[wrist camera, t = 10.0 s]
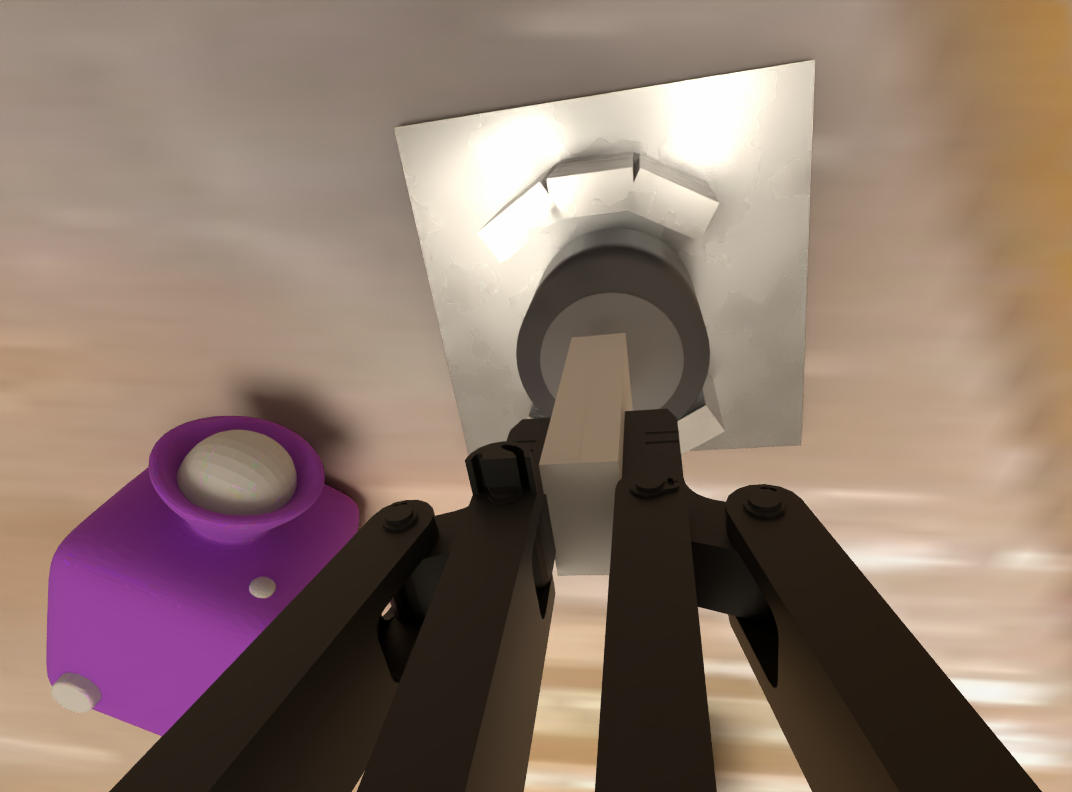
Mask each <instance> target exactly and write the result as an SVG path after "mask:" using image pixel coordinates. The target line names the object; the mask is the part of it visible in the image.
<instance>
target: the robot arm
mask: <svg viewBox="0 0 1072 792" xmlns="http://www.w3.org/2000/svg"><path fill="white" fill-rule="evenodd" d="M465 463H466V467H467V471H468V476H469V480H470V484H471V489H472V493H473V496H472V499H471V501H470V504H469V506H468V507H466V508H463V509H460V510H457V511H454V512H449V513H445V514H441V515H437V516H435V515H434V511H433V508H432V507H431V506H430V505H429V504H428V503H426V502H423V501H420V500H405V501H401V502H396V503H393V504H391V505H389V506H387V507H385V508H382V509H381V510H380V511H379V512H377V513H376V514H375V515H373V516H372V517H371V518H370V520H369V521H368V522H367V523H366V524H365V525H364V526H363V527H362V528H361V529H360V530H359V531H358V532H357V533H356V534H355V535H354V536H353V537H352V538H351V539H350V540H349V541H348V543H347V544H346V545H345V546H344V547H343V548H342V549H341V550H340V551H339V552H338V553H337V554H336V555H335V556H334V557H333V558H332V559H331V560H330V561H329V562H328V563H327V564H326V566H325V567H324V568H323V569H322V570H321V571H320V572H319V573H318V574H317V575H316V576H315V577H314V578H313V579H312V580H311V581H310V582H309V583H308V584H307V585H306V586H305V587H304V589H303V590H302V591H301V592H300V593H299V594H298V595H297V596H296V597H295V598H294V599H293V600H292V601H291V602H290V603H289V604H288V605H287V606H286V607H285V608H284V609H283V611H282V612H281V613H280V614H279V615H278V616H277V617H276V618H275V619H274V620H273V621H272V622H271V623H270V624H269V625H268V626H267V627H266V628H265V629H264V630H263V631H262V632H261V634H260V635H259V636H258V637H257V638H256V639H255V640H254V641H253V642H252V643H251V644H250V645H249V646H248V647H247V648H246V649H245V650H244V651H243V652H242V653H241V654H240V655H239V657H238V658H237V659H236V660H235V661H234V662H233V663H232V664H231V665H230V666H229V667H228V668H227V669H226V670H225V671H224V672H223V673H222V674H221V675H220V676H219V677H218V678H217V680H216V681H215V682H214V683H213V684H212V685H211V686H210V687H209V688H208V689H207V690H206V691H205V692H204V693H203V694H202V695H201V696H200V697H199V698H198V699H197V700H196V701H195V703H194V704H193V705H192V706H191V707H190V708H189V709H188V710H187V711H186V712H185V713H184V714H183V715H182V716H181V717H180V718H179V719H178V720H177V721H176V722H175V723H174V725H173V726H172V727H171V728H170V729H169V730H168V731H167V732H166V733H165V734H164V735H163V736H162V737H161V738H160V739H159V740H158V741H157V742H156V743H155V744H154V745H153V746H152V748H151V749H150V750H149V751H148V752H147V753H146V754H145V755H144V756H143V757H142V758H141V759H140V760H139V761H138V762H137V763H136V764H135V765H134V766H133V767H132V768H131V769H130V771H129V772H128V773H127V774H126V775H125V776H124V777H123V778H122V779H121V780H120V781H119V782H118V783H117V784H116V785H115V786H114V787H113V788H112V789H111V790H110V791H109V792H352V790H353V789H354V787H355V785H356V784H357V782H358V781H359V779H360V777H361V776H362V774H363V773H364V774H363V777H362V780H361V782H360V785H359V787H358V790H357V792H524V786H525V780H526V773H527V767H528V761H529V755H530V748H531V742H532V736H533V730H534V723H535V717H536V711H537V705H538V698H539V692H540V686H541V680H542V673H543V667H544V661H545V655H546V648H547V642H548V636H549V630H550V623H551V617H552V611H553V605H554V598H555V587H554V581H553V575H552V571H553V565H554V560H555V561H556V567H557V573H558V576H567V575H609V589H608V604H607V619H606V634H605V649H604V664H603V679H602V694H601V709H600V724H599V739H598V754H597V769H596V784H595V792H717V791H716V782H715V772H714V762H713V752H712V742H711V733H710V723H709V713H708V703H707V693H706V684H705V674H704V664H703V654H702V644H701V635H700V625H699V615H698V607H701V608H705V609H709V610H713V611H717V612H721V613H725V614H728V616H729V621H730V625H731V627H732V629H733V631H734V633H735V635H736V637H737V639H738V641H739V643H740V645H741V647H742V649H743V651H744V653H745V655H746V657H747V659H748V661H749V663H750V665H751V668H752V670H753V672H754V674H755V676H756V678H757V680H758V682H759V684H760V686H761V688H762V690H763V692H764V694H765V696H766V698H767V700H768V702H769V704H770V706H771V708H772V710H773V712H774V714H775V717H776V719H777V721H778V723H779V725H780V727H781V729H782V731H783V733H784V735H785V737H786V739H787V741H788V743H789V745H790V747H791V749H792V751H793V753H794V755H795V757H796V759H797V761H798V763H799V766H800V768H801V770H802V772H803V774H804V776H805V778H806V780H807V782H808V784H809V786H810V788H811V790H812V792H1042V791H1041V790H1040V789H1039V788H1038V786H1037V785H1036V784H1035V783H1034V781H1033V780H1032V779H1031V778H1030V777H1029V775H1028V774H1027V773H1026V772H1025V770H1024V769H1023V768H1022V767H1021V766H1020V764H1019V763H1018V762H1017V761H1016V760H1015V758H1014V757H1013V756H1012V755H1011V753H1010V752H1009V751H1008V750H1007V749H1006V747H1005V746H1004V745H1003V744H1002V742H1001V741H1000V740H999V739H998V738H997V736H996V735H995V734H994V733H993V732H992V730H991V729H990V728H989V727H988V725H987V724H986V723H985V722H984V721H983V719H982V718H981V717H980V716H979V714H978V713H977V712H976V711H975V710H974V708H973V707H972V706H971V705H970V704H969V702H968V701H967V700H966V699H965V697H964V696H963V695H962V694H961V693H960V691H959V690H958V689H957V688H956V686H955V685H954V684H953V683H952V682H951V680H950V679H949V678H948V677H947V676H946V674H945V673H944V672H943V671H942V669H941V668H940V667H939V666H938V665H937V663H936V662H935V661H934V660H933V658H932V657H931V656H930V655H929V654H928V652H927V651H926V650H925V649H924V648H923V646H922V645H921V644H920V643H919V641H918V640H917V639H916V638H915V637H914V635H913V634H912V633H911V632H910V630H909V629H908V628H907V627H906V626H905V624H904V623H903V622H902V621H901V620H900V618H899V617H898V616H897V615H896V613H895V612H894V611H893V610H892V609H891V607H890V606H889V605H888V604H887V602H886V601H885V600H884V599H883V598H882V596H881V595H880V594H879V593H878V592H877V590H876V589H875V588H874V587H873V585H872V584H871V583H870V582H869V581H868V579H867V578H866V577H865V576H864V574H863V573H862V572H861V571H860V570H859V568H858V567H857V566H856V565H855V564H854V562H853V561H852V560H851V559H850V557H849V556H848V555H847V554H846V553H845V551H844V550H843V549H842V548H841V546H840V545H839V544H838V543H837V542H836V540H835V539H834V538H833V537H832V536H831V534H830V533H829V532H828V531H827V529H826V528H825V527H824V526H823V525H822V523H821V522H820V521H819V520H818V518H817V517H816V516H815V515H814V514H813V512H812V511H811V510H810V509H809V508H808V506H807V505H806V504H805V503H804V501H803V500H802V499H801V498H800V497H798V496H797V495H796V494H795V493H793V492H792V491H789V490H787V489H784V488H782V487H779V486H773V485H766V484H760V485H749V486H745V487H742V488H739V489H737V490H735V491H734V492H733V493H731V494H730V495H729V496H728V498H727V501H726V502H724V501H718V500H713V499H709V498H705V497H703V496H701V495H698V494H696V493H695V492H693V491H692V490H691V489H689V487H688V486H687V485H686V484H685V481H684V478H683V469H682V460H681V450H680V441H679V431H678V421H677V418H676V417H675V416H674V415H673V414H672V413H671V412H670V411H669V410H668V409H652V410H636V411H633V406H632V396H631V385H630V375H629V364H628V353H627V343H626V333H618V334H607V335H595V336H584V337H573V338H572V339H571V343H570V347H569V351H568V354H567V358H566V362H565V366H564V370H563V374H562V377H561V381H560V385H559V389H558V393H557V397H556V401H555V404H554V408H553V412H552V416H551V417H549V418H533V419H522V420H521V421H520V422H519V423H517V424H516V425H515V426H514V427H513V428H512V429H511V430H510V432H509V435H508V438H507V440H506V441H502V442H496V443H491V444H488V445H485V446H482V447H480V448H478V449H476V450H475V451H473V452H472V453H470V455H469V456H468V457H467V458H466V460H465ZM389 602H390V603H391V606H392V607H391V608H390V609H389V610H388V612H387V613H386V614H385V615H384V616H382V615H381V614H382V612H383V610H384V609H385V607H386V606H387V605H388V603H389ZM364 771H365V772H364Z"/></svg>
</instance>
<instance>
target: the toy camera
mask: <svg viewBox="0 0 1072 792" xmlns="http://www.w3.org/2000/svg"><path fill="white" fill-rule="evenodd" d="M324 480H325V475H324V468H323V465H322V462H321V460H320V458H319V456H318V454H317V452H316V451H315V450H314V448H313V447H312V446H311V445H310V444H309V443H308V442H307V441H306V440H305V439H303V438H302V437H301V436H300V435H298V434H297V433H295V432H293V431H292V430H290V429H288V428H286V427H283V426H281V425H279V424H276V423H273V422H270V421H267V420H262V419H258V418H252V417H243V416H215V417H207V418H202V419H197V420H193V421H190V422H187V423H184V424H182V425H180V426H177V427H175V428H174V429H172V430H170V431H168V432H167V433H165V434H164V435H163V436H162V437H161V438H160V439H159V440H158V441H157V443H156V444H155V446H154V447H153V449H152V452H151V454H150V458H149V466H148V468H147V469H146V470H144V471H143V472H142V473H141V474H139V475H138V476H137V477H136V478H134V479H133V480H132V481H130V482H129V483H128V484H127V485H126V486H124V487H123V488H122V489H121V490H120V491H118V492H117V493H116V494H115V495H114V496H112V497H111V498H110V499H109V500H108V501H106V502H105V503H104V504H103V505H102V506H100V507H99V508H98V509H97V510H96V511H94V512H93V513H92V514H91V515H90V516H88V517H87V518H86V519H85V520H84V521H83V522H82V523H80V524H79V525H78V526H77V527H76V528H75V529H74V530H73V531H72V532H71V533H70V534H69V535H68V536H67V537H66V538H65V539H64V540H63V541H62V543H61V544H60V545H59V547H58V548H57V550H56V552H55V554H54V556H53V559H52V562H51V567H50V574H49V586H48V614H47V674H48V678H49V681H50V683H51V685H52V687H51V694H52V696H53V698H54V699H55V700H56V702H57V703H59V704H60V705H61V706H63V707H64V708H66V709H68V710H70V711H73V712H77V713H85V712H88V711H90V710H92V709H94V710H96V711H99V712H101V713H104V714H106V715H109V716H112V717H114V718H117V719H119V720H122V721H124V722H127V723H129V724H132V725H135V726H137V727H140V728H142V729H145V730H147V731H150V732H153V733H155V734H158V735H160V736H163V735H164V734H165V733H166V732H167V731H168V730H169V729H170V728H171V727H172V726H173V725H174V723H175V722H176V721H177V720H178V719H179V718H180V717H181V716H182V715H183V714H184V713H185V712H186V711H187V710H188V709H189V708H190V707H191V706H192V705H193V704H194V703H195V701H196V700H197V699H198V698H199V697H200V696H201V695H202V694H203V693H204V692H205V691H206V690H207V689H208V688H209V687H210V686H211V685H212V684H213V683H214V682H215V681H216V680H217V678H218V677H219V676H220V675H221V674H222V673H223V672H224V671H225V670H226V669H227V668H228V667H229V666H230V665H231V664H232V663H233V662H234V661H235V660H236V659H237V658H238V657H239V655H240V654H241V653H242V652H243V651H244V650H245V649H246V648H247V647H248V646H249V645H250V644H251V643H252V642H253V641H254V640H255V639H256V638H257V637H258V636H259V635H260V634H261V632H262V631H263V630H264V629H265V628H266V627H267V626H268V625H269V624H270V623H271V622H272V621H273V620H274V619H275V618H276V617H277V616H278V615H279V614H280V613H281V612H282V611H283V609H284V608H285V607H286V606H287V605H288V604H289V603H290V602H291V601H292V600H293V599H294V598H295V597H296V596H297V595H298V594H299V593H300V592H301V591H302V590H303V589H304V587H305V586H306V585H307V584H308V583H309V582H310V581H311V580H312V579H313V578H314V577H315V576H316V575H317V574H318V573H319V572H320V571H321V570H322V569H323V568H324V567H325V566H326V564H327V563H328V562H329V561H330V560H331V559H332V558H333V557H334V556H335V555H336V554H337V553H338V552H339V551H340V550H341V549H342V548H343V547H344V546H345V545H346V544H347V543H348V541H349V540H350V539H351V538H352V537H353V536H354V535H355V534H356V533H357V530H358V526H359V509H358V506H357V504H356V503H355V502H354V501H353V500H352V499H351V498H350V497H348V496H347V495H345V494H344V493H342V492H340V491H338V490H336V489H334V488H332V487H330V486H328V485H326V484H324Z"/></svg>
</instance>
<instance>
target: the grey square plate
mask: <svg viewBox="0 0 1072 792" xmlns="http://www.w3.org/2000/svg"><path fill="white" fill-rule="evenodd" d="M814 77H815V60H807V61H801V62H795V63H789V64H782V65H776V66H770V67H764V68H758V69H751V70H745V71H739V72H733V73H727V74H720V75H714V76H708V77H702V78H696V79H690V80H683V81H677V82H671V83H665V84H659V85H652V86H646V87H640V88H634V89H628V90H621V91H615V92H609V93H603V94H597V95H590V96H584V97H578V98H572V99H566V100H559V101H553V102H547V103H541V104H535V105H528V106H522V107H516V108H510V109H504V110H498V111H491V112H485V113H479V114H473V115H467V116H460V117H454V118H448V119H442V120H436V121H429V122H423V123H417V124H411V125H405V126H399V127H395V128H394V131H395V136H396V140H397V144H398V149H399V153H400V157H401V162H402V166H403V171H404V175H405V179H406V184H407V188H408V192H409V197H410V201H411V205H412V210H413V214H414V219H415V223H416V227H417V232H418V236H419V240H420V245H421V249H422V253H423V258H424V262H425V266H426V271H427V275H428V280H429V284H430V288H431V293H432V297H433V301H434V306H435V310H436V314H437V319H438V323H439V328H440V332H441V336H442V341H443V345H444V349H445V354H446V358H447V362H448V367H449V371H450V375H451V380H452V384H453V389H454V393H455V397H456V402H457V406H458V410H459V415H460V419H461V423H462V428H463V432H464V437H465V441H466V445H467V450H468V454H469V455H470V453H472V452H473V451H475V450H476V449H478V448H480V447H482V446H485V445H488V444H491V443H496V442H502V441H506V440H507V438H508V435H509V432H510V430H511V429H512V428H513V427H514V426H515V425H516V424H517V423H519V422H520V421H521V420H522V419H533V418H546V417H545V416H544V415H543V414H542V413H541V412H540V411H539V410H538V409H537V408H536V407H535V405H534V404H533V402H532V401H531V400H530V398H529V397H528V395H527V393H526V391H525V389H524V387H523V385H522V382H521V379H520V376H519V372H518V368H517V359H516V347H517V339H518V334H519V330H520V327H521V325H522V322H523V319H524V317H525V315H526V312H527V310H528V308H529V305H530V303H531V301H532V298H533V296H534V294H535V292H536V289H537V287H538V285H539V282H540V280H541V278H542V275H543V273H544V272H545V270H546V268H547V266H548V264H549V263H550V262H551V260H552V259H553V258H554V256H555V255H556V254H557V253H558V252H559V251H560V250H561V249H562V248H564V247H565V246H566V245H567V244H568V243H570V242H572V241H573V240H575V239H576V238H578V237H580V236H583V235H585V234H587V233H590V232H593V231H597V230H602V229H608V228H624V229H632V230H636V231H641V232H643V233H646V234H649V235H651V236H653V237H655V238H657V239H658V240H660V241H662V242H663V243H664V244H666V245H667V246H668V247H670V248H671V249H672V250H673V251H674V252H675V253H676V254H677V256H678V257H679V258H680V259H681V261H682V262H683V263H684V265H685V267H686V269H687V270H688V273H689V275H690V278H691V280H692V283H693V286H694V290H695V293H696V296H697V300H698V303H699V306H700V310H701V313H702V316H703V320H704V323H705V326H706V330H707V334H708V338H709V345H710V364H709V369H708V374H707V377H706V380H705V383H704V386H703V388H702V390H701V392H700V394H699V396H698V398H697V399H696V400H695V402H694V403H693V405H692V406H691V407H690V408H689V409H688V410H687V412H686V413H685V414H684V415H683V416H682V417H680V418H679V419H678V420H677V421H678V431H679V441H680V450H681V455H682V454H684V453H686V452H688V451H698V450H718V449H737V448H757V447H776V446H796V445H801V433H802V406H803V379H804V351H805V324H806V296H807V269H808V241H809V214H810V187H811V159H812V132H813V104H814Z"/></svg>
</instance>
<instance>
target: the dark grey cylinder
mask: <svg viewBox="0 0 1072 792" xmlns="http://www.w3.org/2000/svg"><path fill="white" fill-rule="evenodd" d="M618 333H626V343H627V353H628V364H629V375H630V385H631V396H632V406H633V411H636V410H652V409H668V410H669V411H670V412H671V413H672V414H673V415H674V416H675V417H676V418H677V420H678V419H679V418H680V417H682V416H683V415H684V414H685V413H686V412H687V410H688V409H689V408H690V407H691V406H692V405H693V403H694V402H695V400H696V399H697V398H698V396H699V394H700V392H701V390H702V388H703V386H704V383H705V380H706V377H707V374H708V369H709V364H710V345H709V338H708V334H707V330H706V326H705V323H704V320H703V316H702V313H701V310H700V306H699V303H698V300H697V296H696V293H695V290H694V286H693V283H692V280H691V278H690V275H689V273H688V270H687V269H686V267H685V265H684V263H683V262H682V261H681V259H680V258H679V257H678V256H677V254H676V253H675V252H674V251H673V250H672V249H671V248H670V247H668V246H667V245H666V244H664V243H663V242H662V241H660V240H658V239H657V238H655V237H653V236H651V235H649V234H646V233H643V232H641V231H636V230H632V229H624V228H608V229H602V230H597V231H593V232H590V233H587V234H585V235H583V236H580V237H578V238H576V239H575V240H573V241H572V242H570V243H568V244H567V245H566V246H565V247H564V248H562V249H561V250H560V251H559V252H558V253H557V254H556V255H555V256H554V258H553V259H552V260H551V262H550V263H549V264H548V266H547V268H546V270H545V272H544V273H543V275H542V278H541V280H540V282H539V285H538V287H537V289H536V292H535V294H534V296H533V298H532V301H531V303H530V305H529V308H528V310H527V312H526V315H525V317H524V319H523V322H522V325H521V327H520V330H519V334H518V339H517V347H516V359H517V368H518V372H519V376H520V379H521V382H522V385H523V387H524V389H525V391H526V393H527V395H528V397H529V398H530V400H531V401H532V402H533V404H534V405H535V407H536V408H537V409H538V410H539V411H540V412H541V413H542V414H543V415H544V416H545V417H546V418H549V417H551V416H552V412H553V408H554V404H555V401H556V397H557V393H558V389H559V385H560V381H561V377H562V374H563V370H564V366H565V362H566V358H567V354H568V351H569V347H570V343H571V339H572V338H573V337H584V336H595V335H607V334H618Z"/></svg>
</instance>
